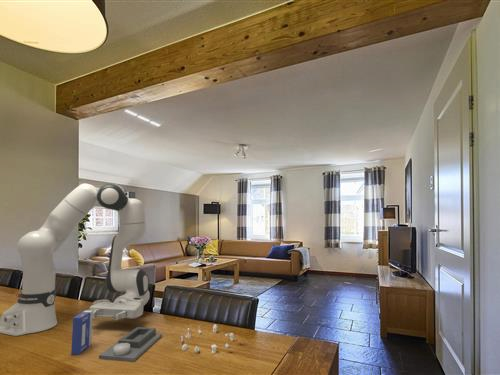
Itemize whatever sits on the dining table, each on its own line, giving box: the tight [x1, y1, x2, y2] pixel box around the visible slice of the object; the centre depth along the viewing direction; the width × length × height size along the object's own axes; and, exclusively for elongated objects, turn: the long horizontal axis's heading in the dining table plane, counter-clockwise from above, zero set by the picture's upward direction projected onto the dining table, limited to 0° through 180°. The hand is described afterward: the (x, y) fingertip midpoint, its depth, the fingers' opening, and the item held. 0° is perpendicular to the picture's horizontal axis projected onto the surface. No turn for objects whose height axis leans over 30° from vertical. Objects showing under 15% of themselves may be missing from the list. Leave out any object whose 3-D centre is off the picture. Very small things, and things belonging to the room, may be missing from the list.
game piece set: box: [180, 324, 235, 354], centre depth 110 cm, size 19×20×4 cm
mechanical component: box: [92, 299, 111, 305], centre depth 145 cm, size 10×4×10 cm
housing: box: [98, 326, 163, 362], centre depth 105 cm, size 12×20×3 cm, turn 171°
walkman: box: [70, 309, 94, 355], centre depth 104 cm, size 8×3×12 cm, turn 0°
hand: (103, 316), depth 115 cm, fingers open, 8 cm apart
